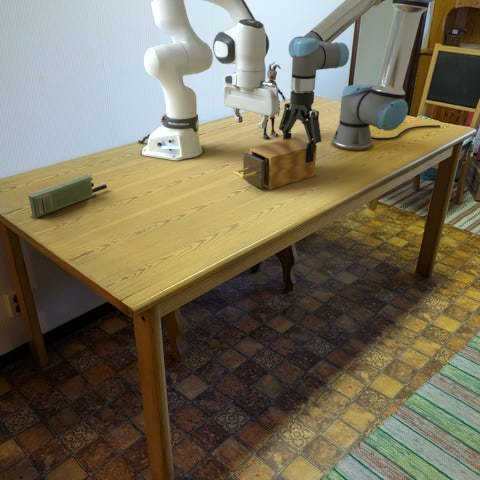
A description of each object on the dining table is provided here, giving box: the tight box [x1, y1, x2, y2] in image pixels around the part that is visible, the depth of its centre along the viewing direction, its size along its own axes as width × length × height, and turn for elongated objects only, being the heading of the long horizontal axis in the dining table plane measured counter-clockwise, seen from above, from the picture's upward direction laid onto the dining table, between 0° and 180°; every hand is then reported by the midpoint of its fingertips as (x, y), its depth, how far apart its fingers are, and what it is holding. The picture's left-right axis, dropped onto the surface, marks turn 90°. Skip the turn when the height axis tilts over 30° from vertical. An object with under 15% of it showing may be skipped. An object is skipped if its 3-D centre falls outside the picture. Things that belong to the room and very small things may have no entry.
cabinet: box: [249, 136, 318, 190], centre depth 168 cm, size 20×11×11 cm, turn 127°
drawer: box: [232, 152, 269, 189], centre depth 165 cm, size 24×9×9 cm, turn 127°
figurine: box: [262, 61, 287, 140], centre depth 201 cm, size 15×6×30 cm, turn 132°
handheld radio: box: [28, 173, 108, 219], centre depth 150 cm, size 7×3×25 cm
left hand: (250, 125), depth 157 cm, fingers open, 8 cm apart
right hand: (297, 156), depth 171 cm, fingers closed on cabinet, 11 cm apart
